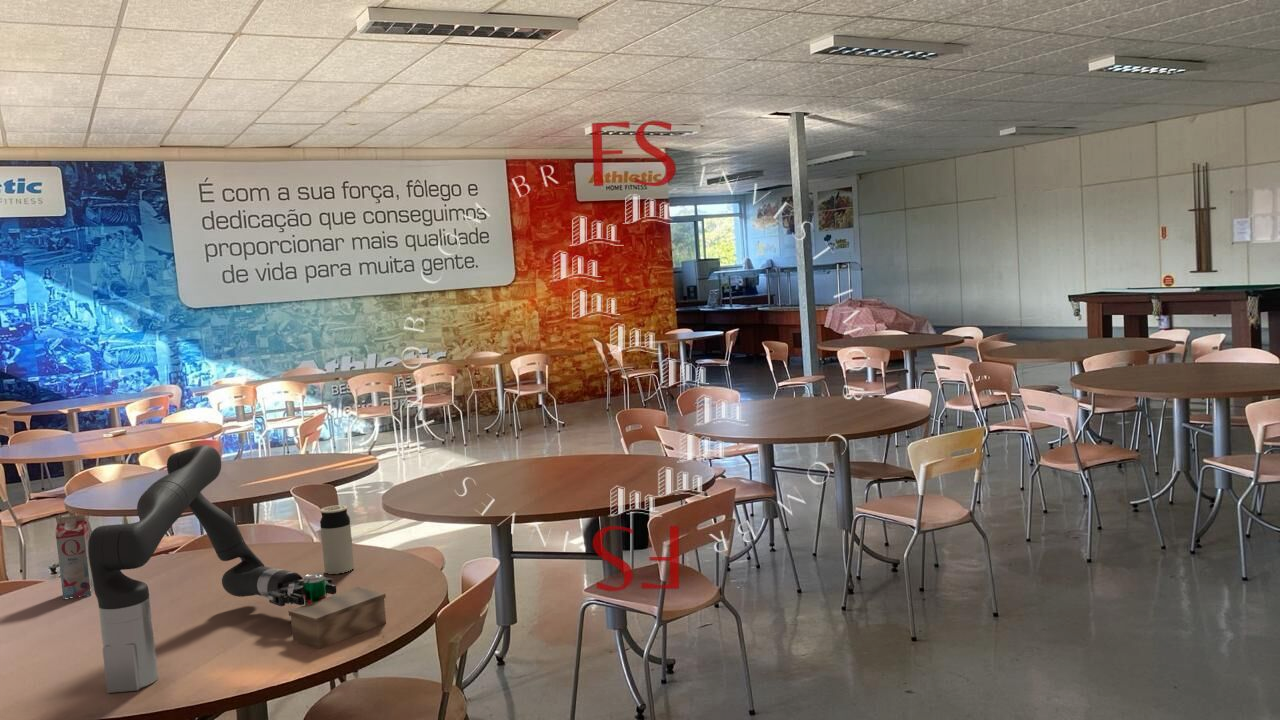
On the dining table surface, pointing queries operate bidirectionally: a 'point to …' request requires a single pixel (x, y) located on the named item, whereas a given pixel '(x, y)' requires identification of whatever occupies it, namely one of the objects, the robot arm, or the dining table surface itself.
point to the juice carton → (74, 556)
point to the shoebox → (338, 617)
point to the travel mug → (336, 539)
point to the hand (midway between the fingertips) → (319, 595)
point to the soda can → (314, 588)
